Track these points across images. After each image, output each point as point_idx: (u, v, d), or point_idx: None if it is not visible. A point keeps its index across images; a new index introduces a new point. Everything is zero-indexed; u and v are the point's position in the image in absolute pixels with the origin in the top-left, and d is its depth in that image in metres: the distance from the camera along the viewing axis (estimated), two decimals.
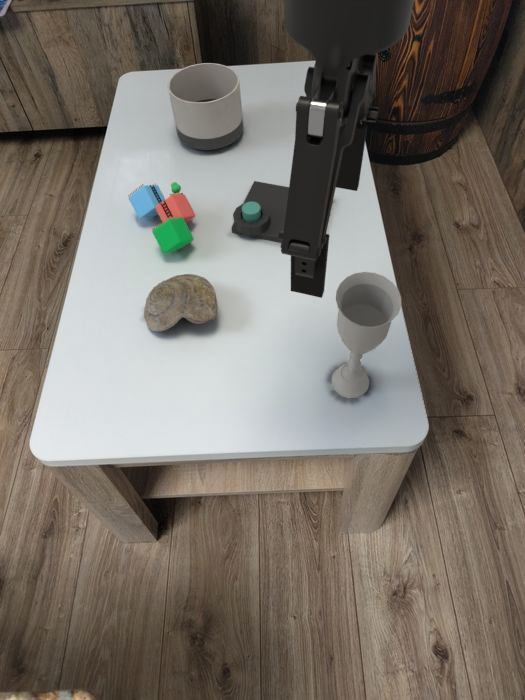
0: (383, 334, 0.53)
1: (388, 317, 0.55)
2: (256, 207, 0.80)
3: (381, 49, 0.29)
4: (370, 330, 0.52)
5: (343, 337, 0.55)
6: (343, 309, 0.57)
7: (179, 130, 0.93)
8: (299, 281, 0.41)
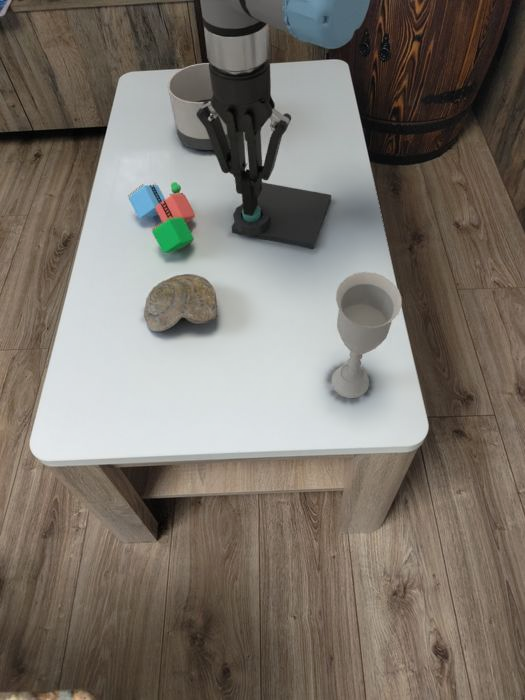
0: (383, 334, 0.53)
1: (388, 317, 0.55)
2: (256, 210, 0.80)
3: (214, 96, 0.63)
4: (370, 330, 0.52)
5: (343, 337, 0.55)
6: (343, 309, 0.57)
7: (179, 130, 0.93)
8: None
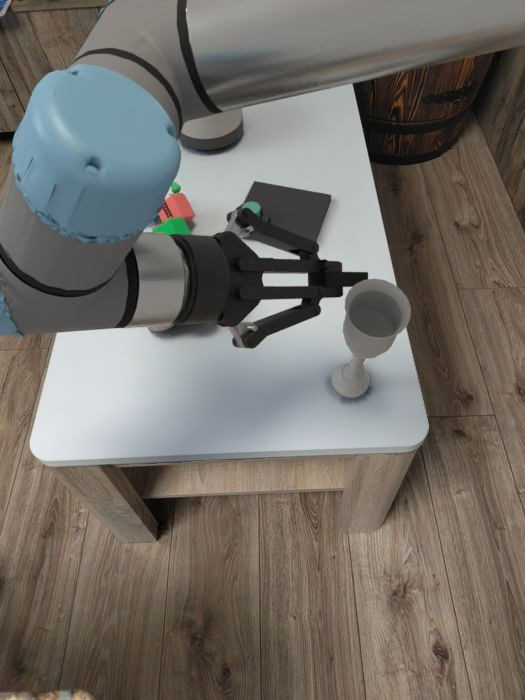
0: (390, 343, 0.53)
1: (395, 324, 0.55)
2: (256, 207, 0.80)
3: (223, 309, 0.42)
4: (378, 340, 0.51)
5: (349, 344, 0.54)
6: (349, 314, 0.56)
7: None
8: None
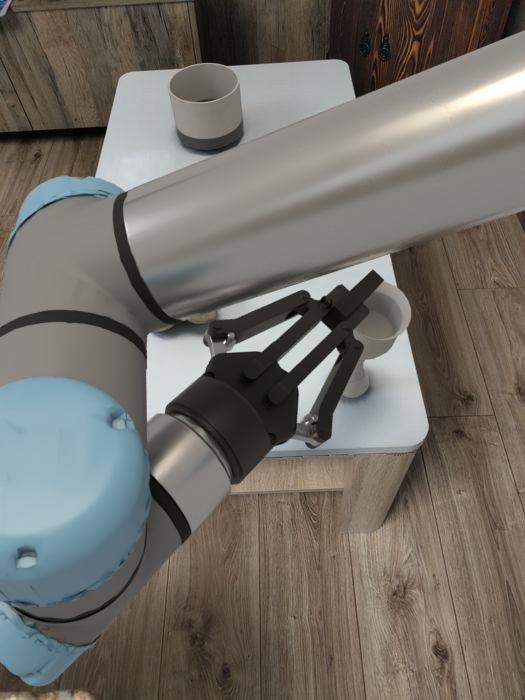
0: (390, 344, 0.53)
1: (395, 325, 0.55)
2: None
3: (266, 431, 0.34)
4: (378, 342, 0.51)
5: None
6: None
7: (179, 130, 0.93)
8: None
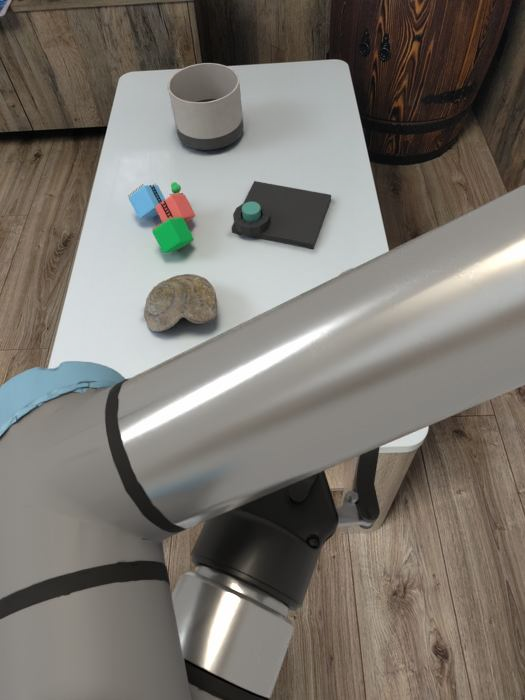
0: None
1: None
2: (256, 207, 0.80)
3: (301, 542, 0.29)
4: None
5: None
6: None
7: (179, 130, 0.93)
8: None
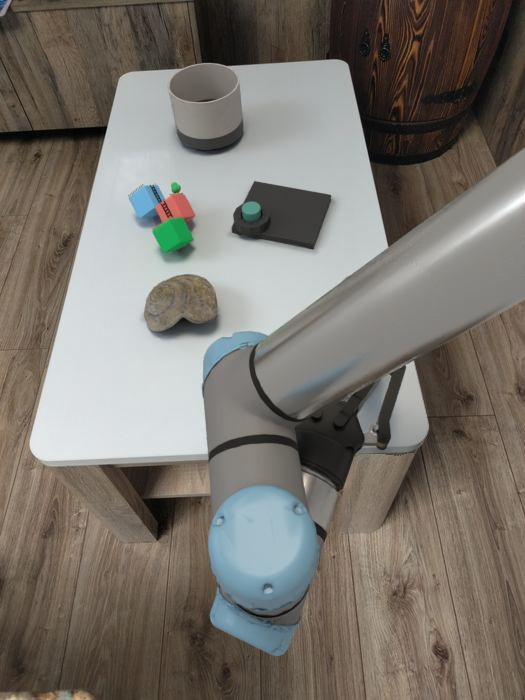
0: None
1: None
2: (256, 207, 0.80)
3: (343, 447, 0.49)
4: None
5: None
6: None
7: (179, 130, 0.93)
8: None
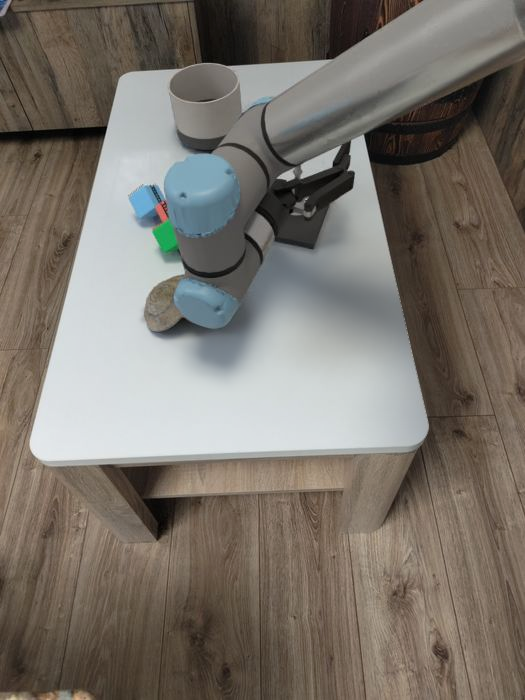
0: None
1: None
2: None
3: (277, 198, 0.65)
4: None
5: None
6: None
7: (179, 130, 0.93)
8: (347, 153, 0.75)
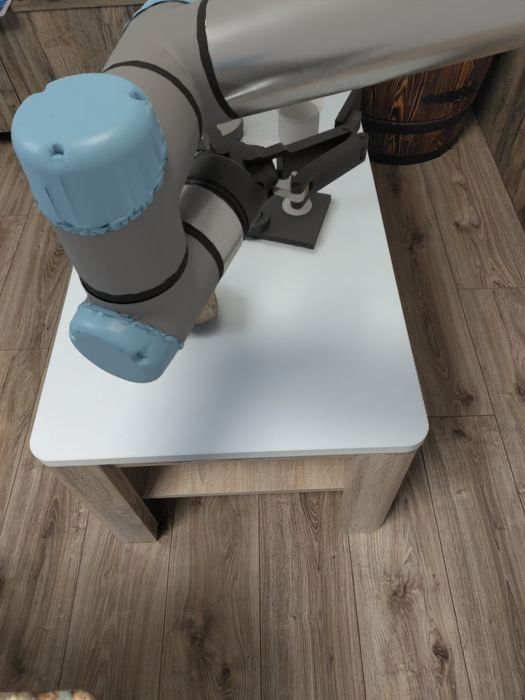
0: (311, 134, 0.71)
1: (317, 127, 0.72)
2: None
3: (248, 172, 0.41)
4: (300, 126, 0.69)
5: (282, 141, 0.72)
6: None
7: None
8: None
